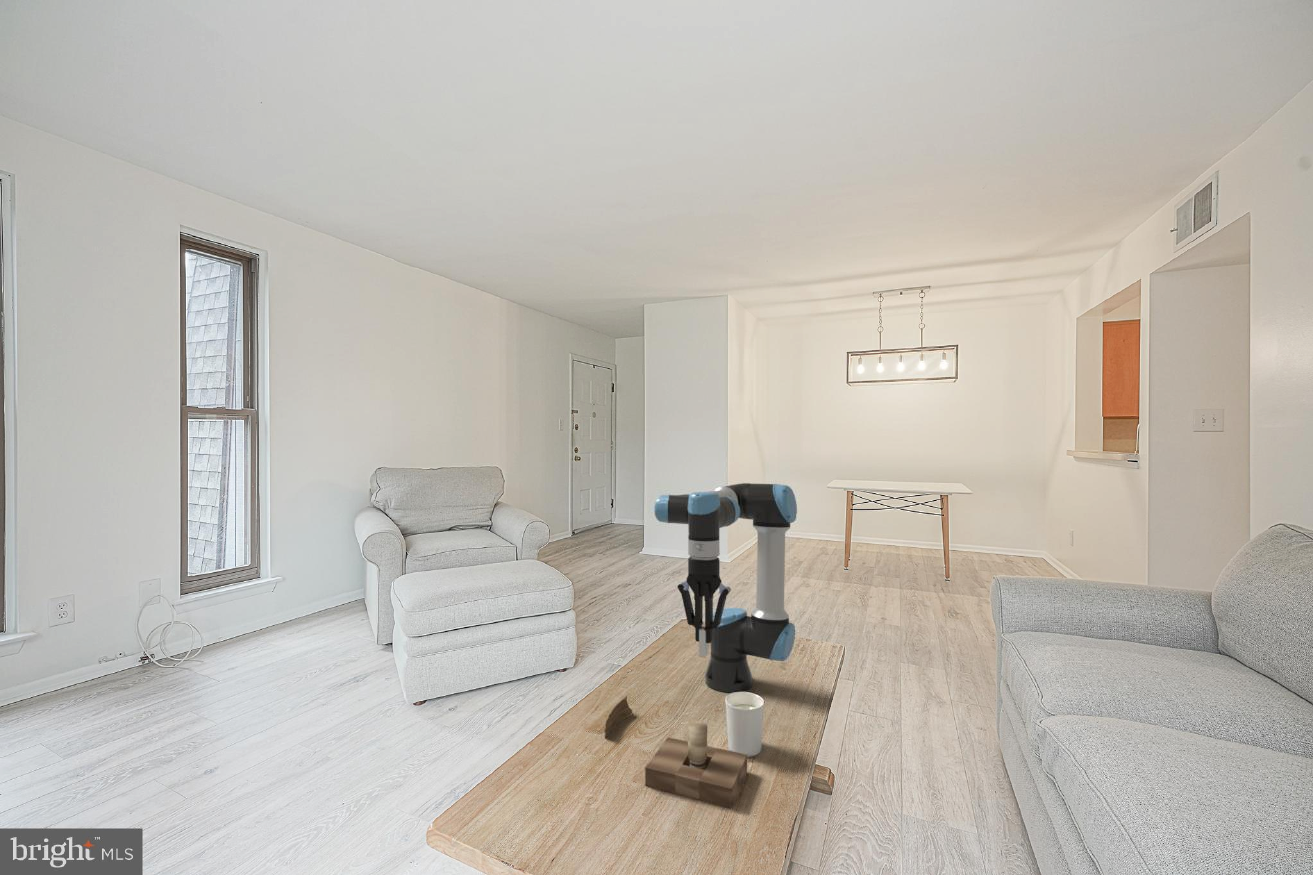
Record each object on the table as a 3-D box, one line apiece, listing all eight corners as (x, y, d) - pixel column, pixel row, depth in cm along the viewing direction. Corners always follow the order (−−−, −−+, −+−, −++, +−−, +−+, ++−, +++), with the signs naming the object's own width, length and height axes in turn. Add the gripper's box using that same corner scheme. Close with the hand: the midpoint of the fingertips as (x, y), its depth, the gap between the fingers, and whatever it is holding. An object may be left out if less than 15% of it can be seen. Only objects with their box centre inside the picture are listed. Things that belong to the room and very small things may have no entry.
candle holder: (734, 761, 133) (734, 711, 134) (719, 740, 143) (719, 694, 143) (771, 755, 136) (771, 706, 136) (753, 735, 145) (753, 689, 146)
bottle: (691, 771, 129) (691, 719, 129) (709, 775, 127) (709, 723, 128) (685, 781, 125) (685, 728, 125) (703, 786, 123) (703, 732, 124)
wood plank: (610, 740, 143) (610, 720, 143) (602, 738, 144) (602, 719, 144) (632, 713, 158) (632, 695, 158) (625, 712, 158) (625, 694, 158)
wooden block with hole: (668, 753, 137) (668, 737, 137) (747, 771, 129) (747, 754, 129) (645, 785, 124) (645, 767, 124) (731, 807, 116) (731, 788, 116)
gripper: (672, 557, 131) (672, 657, 130) (725, 562, 126) (726, 665, 125) (683, 552, 138) (683, 646, 137) (734, 556, 133) (734, 654, 132)
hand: (703, 655), depth 131 cm, fingers closed
